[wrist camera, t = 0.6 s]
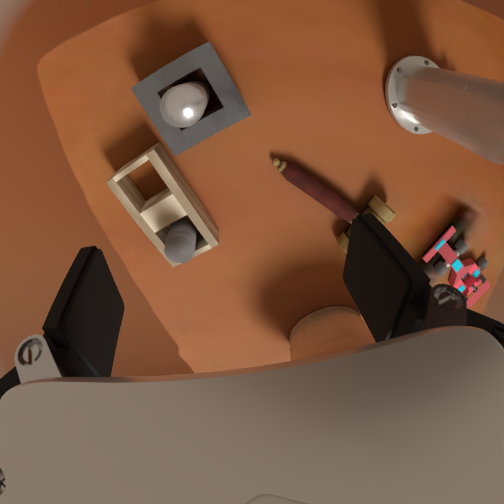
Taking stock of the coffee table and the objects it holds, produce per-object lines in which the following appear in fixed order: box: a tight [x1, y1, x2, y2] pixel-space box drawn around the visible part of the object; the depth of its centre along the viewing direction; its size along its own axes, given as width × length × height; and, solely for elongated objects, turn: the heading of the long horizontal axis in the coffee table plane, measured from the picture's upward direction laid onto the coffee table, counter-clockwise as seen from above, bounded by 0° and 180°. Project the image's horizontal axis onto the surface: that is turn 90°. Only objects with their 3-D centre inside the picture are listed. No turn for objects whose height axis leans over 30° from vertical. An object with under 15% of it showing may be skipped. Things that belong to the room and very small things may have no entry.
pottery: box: [289, 306, 376, 361], centre depth 56 cm, size 22×22×14 cm
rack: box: [106, 142, 219, 267], centre depth 37 cm, size 8×16×7 cm, turn 26°
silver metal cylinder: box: [160, 81, 210, 128], centre depth 27 cm, size 4×4×12 cm
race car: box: [422, 225, 490, 308], centre depth 53 cm, size 14×6×25 cm
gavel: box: [272, 158, 395, 254], centre depth 41 cm, size 21×5×10 cm
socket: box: [131, 42, 251, 156], centre depth 30 cm, size 10×10×5 cm
